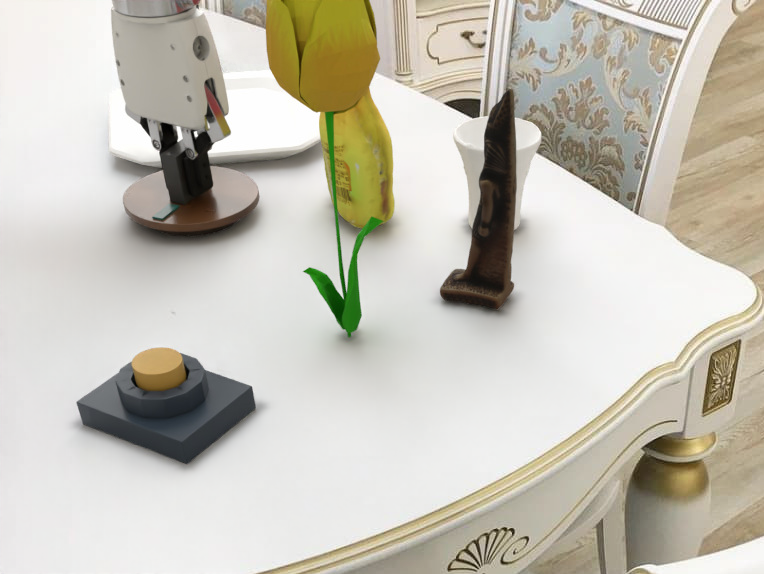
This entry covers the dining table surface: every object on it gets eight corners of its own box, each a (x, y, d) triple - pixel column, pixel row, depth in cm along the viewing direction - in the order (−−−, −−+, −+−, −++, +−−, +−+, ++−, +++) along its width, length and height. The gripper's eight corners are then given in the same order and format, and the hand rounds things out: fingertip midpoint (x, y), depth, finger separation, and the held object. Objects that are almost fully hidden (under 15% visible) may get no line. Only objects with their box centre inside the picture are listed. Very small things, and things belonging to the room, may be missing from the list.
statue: (454, 282, 109) (449, 66, 95) (521, 295, 108) (527, 78, 93) (438, 302, 107) (431, 83, 92) (507, 316, 105) (511, 96, 91)
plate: (309, 84, 144) (307, 66, 143) (334, 164, 128) (332, 144, 126) (112, 98, 140) (108, 79, 138) (112, 182, 123) (107, 162, 122)
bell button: (125, 384, 90) (120, 365, 88) (158, 360, 92) (154, 342, 91) (164, 398, 88) (159, 379, 87) (196, 374, 91) (192, 355, 90)
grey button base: (82, 424, 92) (69, 383, 89) (155, 372, 97) (145, 331, 94) (187, 464, 88) (177, 422, 85) (256, 408, 94) (249, 367, 91)
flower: (298, 360, 99) (247, -14, 77) (308, 313, 105) (263, -48, 83) (395, 360, 99) (371, -12, 78) (399, 314, 105) (378, -46, 83)
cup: (435, 227, 117) (432, 131, 110) (494, 199, 122) (494, 105, 115) (497, 255, 113) (498, 157, 106) (555, 225, 118) (560, 129, 111)
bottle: (313, 196, 122) (290, -6, 107) (368, 186, 124) (353, -13, 109) (349, 244, 114) (330, 34, 100) (407, 232, 116) (396, 25, 102)
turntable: (171, 164, 123) (160, 110, 119) (283, 185, 120) (275, 130, 116) (97, 217, 114) (82, 161, 110) (216, 241, 111) (205, 184, 107)
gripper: (247, -3, 103) (274, 191, 116) (113, -31, 108) (154, 159, 121) (195, 20, 98) (229, 220, 111) (58, -10, 103) (107, 185, 116)
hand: (190, 187), depth 116 cm, fingers closed on turntable, 2 cm apart
